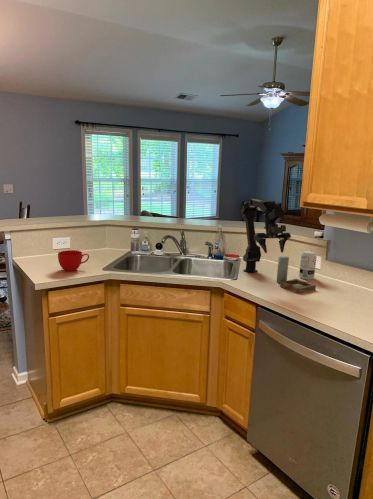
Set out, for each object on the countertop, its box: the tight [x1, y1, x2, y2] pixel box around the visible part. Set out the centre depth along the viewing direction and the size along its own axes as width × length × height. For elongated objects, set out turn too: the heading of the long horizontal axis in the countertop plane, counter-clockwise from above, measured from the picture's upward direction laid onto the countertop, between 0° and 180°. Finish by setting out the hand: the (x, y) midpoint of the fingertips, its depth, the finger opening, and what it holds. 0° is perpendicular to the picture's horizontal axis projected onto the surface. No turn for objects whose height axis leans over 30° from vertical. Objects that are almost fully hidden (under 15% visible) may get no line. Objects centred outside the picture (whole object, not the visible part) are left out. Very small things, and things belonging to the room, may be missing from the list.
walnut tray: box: [279, 278, 317, 295], centre depth 188 cm, size 12×12×2 cm
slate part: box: [276, 255, 290, 284], centre depth 195 cm, size 5×5×14 cm
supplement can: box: [298, 250, 317, 280], centre depth 205 cm, size 8×8×15 cm
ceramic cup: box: [57, 249, 90, 273], centre depth 205 cm, size 13×17×10 cm
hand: (274, 252), depth 188 cm, fingers open, 9 cm apart
